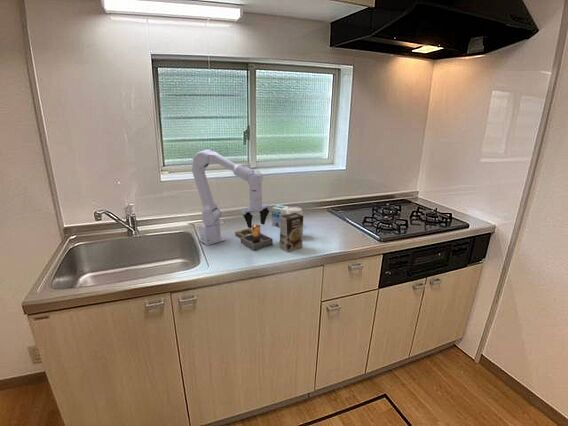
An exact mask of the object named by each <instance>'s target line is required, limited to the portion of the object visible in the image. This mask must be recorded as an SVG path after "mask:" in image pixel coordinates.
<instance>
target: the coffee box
mask: <svg viewBox="0 0 568 426" xmlns="http://www.w3.org/2000/svg"><path fill="white" fill-rule="evenodd" d="M303 233H304V214H303V215H300V214H297V213H291V214H287V215H282V216H280V227H279V248H280V249H281V250H283V251H285V252H286V253H289V252H293V251H296V250H299V249H302V248H303V235H304V234H303Z"/></svg>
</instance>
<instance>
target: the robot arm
mask: <svg viewBox="0 0 568 426" xmlns="http://www.w3.org/2000/svg"><path fill="white" fill-rule="evenodd" d="M192 160H193V161H192V167H191V172H192V175H193V179H194V182H195V185H196V188H197V190H198V195H199V198H200V201H201V205H202V210H201V214H202V217H201V220H202V223H204V224H202V225H201V226H199V238H200V239H199V241H201V242H202V243H203V244H205V245H206V246H209V245H214V244H217V243H219V242H223V241H225V239H224V238H222V237H221V220H220V218H221V217H222V212H221V210H220V209H219V207H218V205H217V204H216V203H215V201H214V198H213V195H212V192H211V188H210V185H209V181H208V179H207V175H206V169H208V167H209V165H214V164H216V165H220V166H221V167H223V168H225V169H228V170H230V171H232V173H233V175H234V176H236V177H238V178H240V179H242V180H243V181H246V182H247V183H248V187H249V189H248V190H249V206H248V207H246V208H244V209H241V214H242V216H243V218H244V219H245V222H246V226H247V229H248V228H250V229H252V225H253V224H252V223H253V222H252V221H253V217H254V215H253V214H252V213H255V212H259V217H260V219H259V221H260V224H261V225H265V224H266V219H267V217H268V215H269V213H270V204H267V203H266V204H263V191H262V190H263V187H262V186H263V185H262V184H263V183H262V182H263V180H264V176H263V174H262V172H260V171H258V170H255V169H251V168H250V167H248V166H246V164H245V163H238V164H237V163H235V162H233V161H231V160H229V159H228V158H226V157H225V156H222V155H221V154H220V153H219V152H217V151H213V149H209V148H206V149H204V150H201V151H200V150H199V151H197V152H196V153H195V154H194V155H193V157H192Z"/></svg>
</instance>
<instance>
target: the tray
mask: <svg viewBox="0 0 568 426" xmlns="http://www.w3.org/2000/svg"><path fill="white" fill-rule="evenodd" d="M246 235H247V236H244V237H241V238H240V244H242V245H244V246H245V247H246V248H249V249H250V250H253V251H257V250H260V249H264V248H266V247H269V246H272V245H273V238H272V237H269V236H268V235H266V234H264V233H262V232H260V242H258V243H255V244H254V243H252V234H251V235H248V234H246Z"/></svg>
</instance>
